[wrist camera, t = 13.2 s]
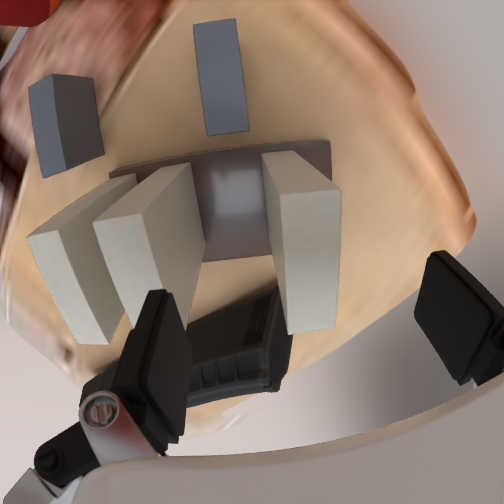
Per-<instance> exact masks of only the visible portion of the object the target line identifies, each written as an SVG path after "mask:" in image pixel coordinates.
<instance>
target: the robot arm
mask: <svg viewBox="0 0 504 504" xmlns="http://www.w3.org/2000/svg"><path fill="white" fill-rule="evenodd" d="M414 317H415V320H416V321H417V323H418V324H419V326H420V327H421V329H422V330H423V331H424V333H425V335H426V336H427V338H428V339H429V341H430V342H431V344H432V345H433V347H434V348H435V350H436V352H437V353H438V355H439V356H440V358H441V360H442V361H443V363H444V364H445V366H446V368H447V369H448V371H449V373H450V375H451V376H452V378H453V379H455V380H457V382H458V384H459V385H460V386H461V385H463V384H465V383H467V382H469V381H470V380H471V378H473V379H474V385H473V390H471V391H469V392H467V393H465V394H463V395H461V396H459V397H457V398H455V399H453V400H450V401H449V402H446V403H444V404H442V405H439V406H437V407H435V408H432V409H430V410H428V411H425V412H423V413H420V414H418V415H416V416H413V417H410V418H407V419H404V420H402V421H399V422H397V423H393V424H390V425H387V426H384V427H381V428H378V429H374V430H371V431H368V432H364V433H360V434H357V435H353V436H349V437H345V438H341V439H337V440H332V441H328V442H324V443H318V444H313V445H308V446H302V447H296V448H290V449H283V450H275V451H266V452H257V453H246V454H234V455H213V456H169V455H168V454H167V453H166V452H165V451H166V450H167V449H168V443H172V444H178V441H179V436H183V434H184V428H185V417H186V407H187V397H188V388H189V379H190V370H191V362H192V348H191V345H190V342H189V339H188V337H187V334H186V331H185V328H184V326H183V323H182V320H181V317H180V314H179V311H178V308H177V305H176V302H175V299H174V296H173V294H172V293H171V292H167V290H166V289H156V290H149V291H148V293H147V296H146V298H145V301H144V304H143V306H142V309H141V311H140V314H139V317H138V319H137V322H136V325H135V328H134V329H132V330H131V331H130V332H129V334H128V337H127V340H126V343H125V346H124V348H123V351H122V354H121V357H120V360H119V363H118V366H117V369H116V372H115V375H114V378H113V381H112V384H111V387H110V391H97V392H95V393H93V394H91V395H89V396H88V397H87V398H86V399H85V400H84V401H83V402H82V404H81V406H80V409H79V420H80V421H79V422H77V423H76V424H74V425H73V426H71V427H69V428H68V429H66V430H65V431H63V432H62V433H60V434H58V435H57V436H55V437H54V438H52V439H50V440H49V441H47V442H45V443H44V444H43V445H41V446H40V447H39V448H38V450H37V451H36V454H35V457H34V466H35V468H34V469H32V468H29V469H28V470H27V471H26V472H25V473H24V475H23V476H22V477H21V478H20V479H19V481H18V482H17V483H16V484H15V485H14V487H13V488H12V489H11V490H10V491H9V492H8V494H7V495H6V496H5V498H4V500H3V504H504V307H503V306H502V305H501V304H500V303H499V302H498V301H497V299H496V298H495V297H494V296H493V295H492V294H491V293H490V292H489V291H488V290H487V289H486V288H485V287H484V286H483V285H482V284H481V283H480V282H479V281H478V280H477V279H476V278H475V277H474V276H473V275H472V274H471V273H470V272H468V270H466V268H464V267H463V266H462V265H461V264H460V263H459V262H458V261H457V260H456V259H455V258H454V257H452V256H451V255H450V254H449V253H448V252H447V251H445V250H441V251H435V252H432V253H431V254H430V256H429V257H428V258H427V262H426V266H425V271H424V275H423V279H422V284H421V288H420V292H419V295H418V299H417V303H416V306H415V310H414Z"/></svg>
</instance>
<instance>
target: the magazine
mask: <svg viewBox="0 0 504 504" xmlns="http://www.w3.org/2000/svg"><path fill="white" fill-rule="evenodd" d="M186 334H187V337H188V339H189V342H190V345H191V348H192V362H191V370H190V379H189V388H188V397H187V407H186V408H189V407H193V406H197V405H201V404H205V403H208V402H212V401H216V400H221V399H225V398H230V397H236V396H241V395H246V394H254V393H262V392H271V393H272V392H278V391H279V390H280V384H281V380H282V378H283V377H284V376H285V374H286V373H287V370H288V366H289V359H290V353H291V346H292V339H293V334H292V335H288V332H287V327H286V321H285V316H284V311H283V306H282V300H281V295H280V290H279V285H278V286H275V289H273V290H270V291H268V292H266V293H263V294H261V295H259V296H256V297H254V298H252V299H249V300H247V301H245V302H242V303H240V304H237V305H235V306H233V307H230V308H228V309H225V310H223V311H220V312H218V313H215V314H213V315H211V316H208V317H206V318H204V319H201V320H199V321H197V322H194V323H192V324H190V325H188V326H187V327H186ZM118 363H119V362H118ZM118 363H116V364H114V365H113V366H111V367H110V368H108V369H106V370H105V371H103V372H102V373H100V374H98V375H97V376H95V377H94V378H93V379H91V380H90V381H88V382H87V383H86V384H85V385H84V386H83V390H82V395H81V399H80V404H79V407H80V406H81V404H82V402H83V401H84V400H85V399H86V398H87V397H88V396H89V395H91V394H93V393H95V392H97V391H110V387H111V384H112V381H113V378H114V375H115V372H116V369H117V366H118Z"/></svg>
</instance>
